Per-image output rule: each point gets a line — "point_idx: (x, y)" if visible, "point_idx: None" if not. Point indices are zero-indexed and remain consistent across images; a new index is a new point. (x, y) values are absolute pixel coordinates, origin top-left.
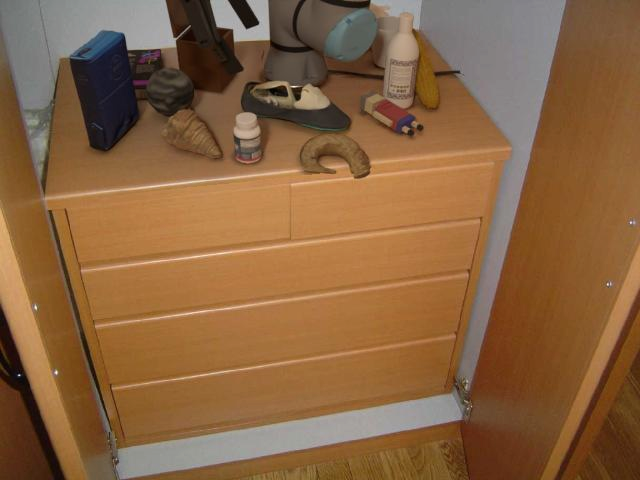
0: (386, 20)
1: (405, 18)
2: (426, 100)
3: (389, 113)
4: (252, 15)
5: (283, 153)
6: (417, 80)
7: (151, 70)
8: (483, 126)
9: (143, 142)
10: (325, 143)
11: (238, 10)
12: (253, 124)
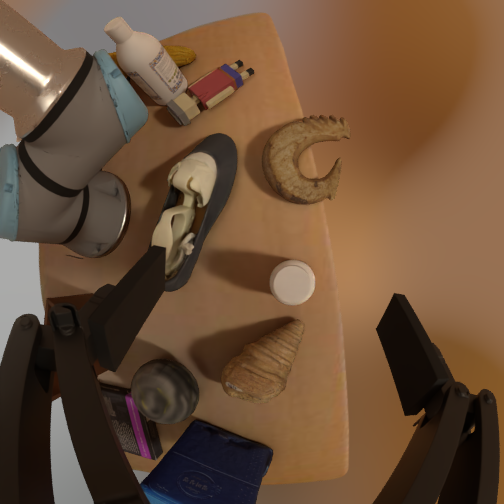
0: None
1: (120, 22)
2: (188, 58)
3: (217, 86)
4: (150, 268)
5: (286, 228)
6: None
7: (107, 399)
8: (232, 23)
9: (250, 414)
10: (292, 163)
11: (137, 321)
12: (306, 271)
